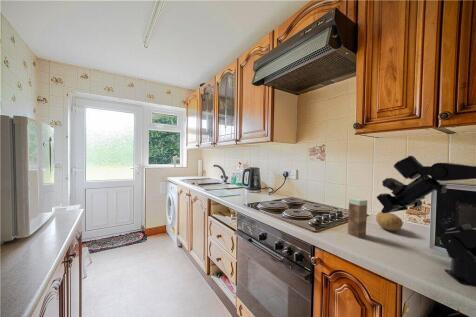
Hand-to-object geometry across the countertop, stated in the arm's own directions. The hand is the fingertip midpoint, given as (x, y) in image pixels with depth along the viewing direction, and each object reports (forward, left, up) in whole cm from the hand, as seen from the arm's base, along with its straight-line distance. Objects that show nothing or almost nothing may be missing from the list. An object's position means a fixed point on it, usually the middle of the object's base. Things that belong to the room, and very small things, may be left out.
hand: (382, 212), depth 80 cm
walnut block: (+8, +7, -13) cm, 17 cm away
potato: (+22, -10, -13) cm, 28 cm away
